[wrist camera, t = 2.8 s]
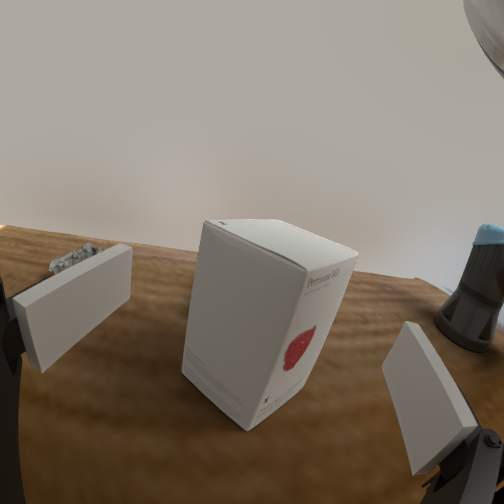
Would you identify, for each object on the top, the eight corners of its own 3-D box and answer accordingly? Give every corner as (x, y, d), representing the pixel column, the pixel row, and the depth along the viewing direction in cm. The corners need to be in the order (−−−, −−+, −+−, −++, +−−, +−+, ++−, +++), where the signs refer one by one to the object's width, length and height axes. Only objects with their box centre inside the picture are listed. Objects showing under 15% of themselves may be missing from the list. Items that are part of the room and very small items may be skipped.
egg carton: (82, 303, 29) (80, 274, 28) (46, 285, 30) (43, 258, 29) (124, 273, 39) (125, 249, 38) (89, 261, 40) (89, 238, 39)
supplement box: (246, 435, 18) (307, 269, 14) (179, 372, 24) (199, 217, 19) (306, 387, 25) (362, 251, 21) (243, 343, 30) (275, 216, 26)
